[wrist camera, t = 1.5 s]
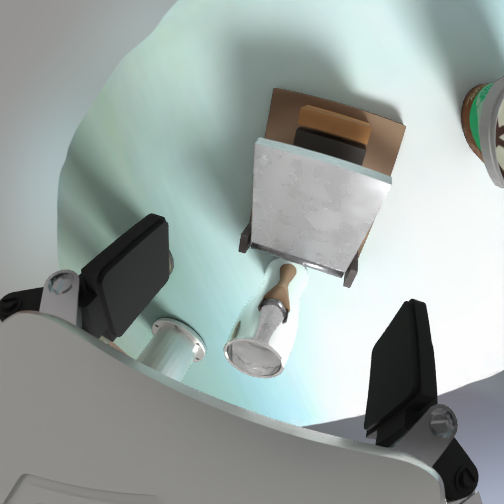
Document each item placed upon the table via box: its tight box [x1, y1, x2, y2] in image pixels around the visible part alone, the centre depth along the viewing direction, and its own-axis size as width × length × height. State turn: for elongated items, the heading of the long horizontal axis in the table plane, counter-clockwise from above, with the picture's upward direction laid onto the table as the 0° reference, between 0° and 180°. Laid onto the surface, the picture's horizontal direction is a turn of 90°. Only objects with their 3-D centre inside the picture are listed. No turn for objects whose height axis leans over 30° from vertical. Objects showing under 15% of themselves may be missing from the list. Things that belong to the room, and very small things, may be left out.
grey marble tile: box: [251, 137, 392, 278], centre depth 27 cm, size 15×11×2 cm
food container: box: [461, 76, 504, 188], centre depth 16 cm, size 12×6×10 cm, turn 150°
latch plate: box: [239, 88, 406, 288], centre depth 30 cm, size 19×14×6 cm
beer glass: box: [224, 258, 309, 378], centre depth 34 cm, size 7×7×15 cm
